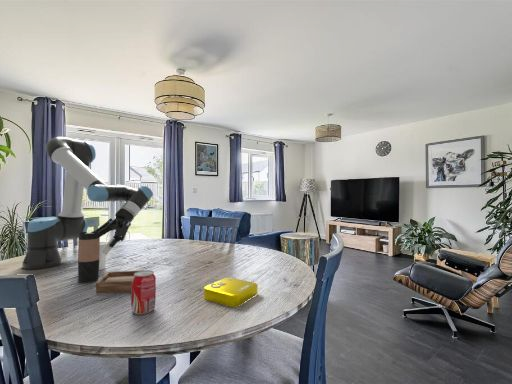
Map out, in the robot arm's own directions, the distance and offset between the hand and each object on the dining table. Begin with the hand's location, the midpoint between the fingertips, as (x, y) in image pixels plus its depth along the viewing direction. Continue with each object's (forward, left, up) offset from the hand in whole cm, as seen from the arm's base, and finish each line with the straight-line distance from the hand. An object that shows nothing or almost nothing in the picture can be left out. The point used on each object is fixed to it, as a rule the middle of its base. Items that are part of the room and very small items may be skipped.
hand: (94, 251), depth 113 cm
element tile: (+29, +54, -13) cm, 62 cm away
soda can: (+35, +25, -12) cm, 45 cm away
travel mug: (0, -2, -12) cm, 12 cm away
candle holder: (-18, -5, -12) cm, 22 cm away
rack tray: (+10, +13, -12) cm, 21 cm away
